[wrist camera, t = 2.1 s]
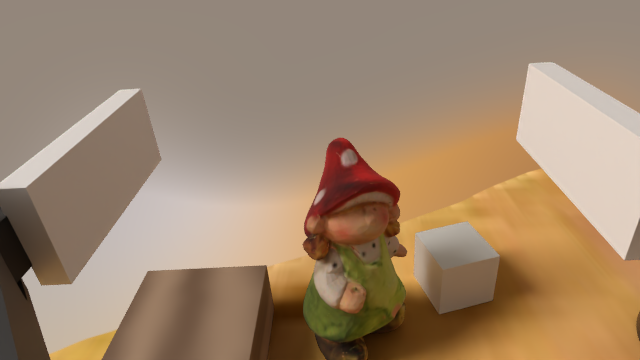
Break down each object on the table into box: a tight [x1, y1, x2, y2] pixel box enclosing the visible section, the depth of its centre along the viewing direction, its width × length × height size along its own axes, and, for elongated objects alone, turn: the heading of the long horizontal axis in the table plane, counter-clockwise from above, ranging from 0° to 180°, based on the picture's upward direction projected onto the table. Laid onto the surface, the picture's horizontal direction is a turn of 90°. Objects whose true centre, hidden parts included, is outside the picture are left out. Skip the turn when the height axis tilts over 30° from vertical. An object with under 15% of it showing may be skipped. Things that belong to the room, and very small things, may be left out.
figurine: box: [303, 138, 407, 360], centre depth 38 cm, size 11×9×20 cm
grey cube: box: [414, 222, 500, 314], centre depth 45 cm, size 6×6×6 cm
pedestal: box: [102, 265, 274, 360], centre depth 40 cm, size 12×12×6 cm
